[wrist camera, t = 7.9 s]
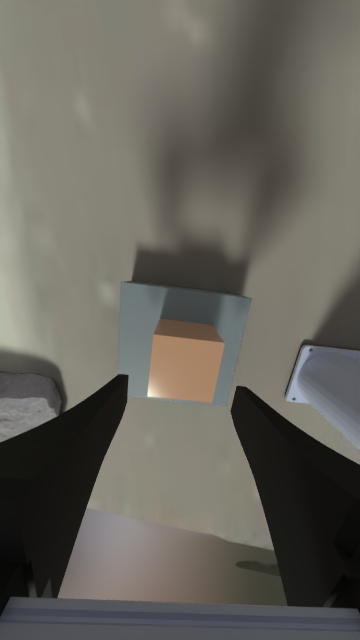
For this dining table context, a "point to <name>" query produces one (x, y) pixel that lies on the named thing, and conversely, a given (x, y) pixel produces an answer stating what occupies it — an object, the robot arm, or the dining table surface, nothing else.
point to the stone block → (26, 402)
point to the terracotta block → (184, 361)
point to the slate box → (181, 305)
